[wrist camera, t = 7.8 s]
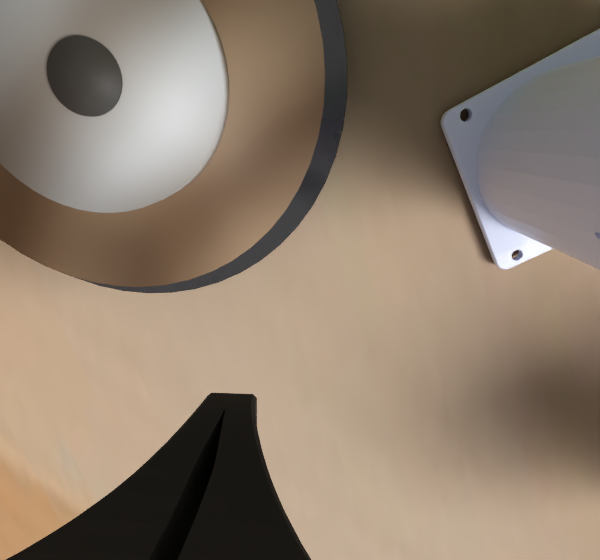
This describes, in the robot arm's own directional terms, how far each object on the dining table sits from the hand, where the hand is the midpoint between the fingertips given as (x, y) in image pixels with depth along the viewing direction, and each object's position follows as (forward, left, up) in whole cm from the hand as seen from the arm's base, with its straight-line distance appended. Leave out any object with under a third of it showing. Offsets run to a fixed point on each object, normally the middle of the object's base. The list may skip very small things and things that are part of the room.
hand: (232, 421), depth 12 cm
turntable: (0, -11, -8) cm, 14 cm away
